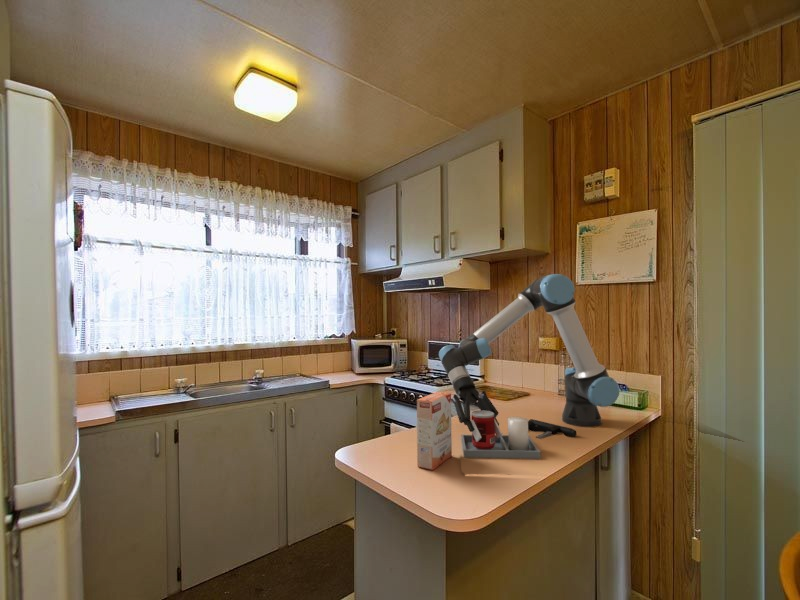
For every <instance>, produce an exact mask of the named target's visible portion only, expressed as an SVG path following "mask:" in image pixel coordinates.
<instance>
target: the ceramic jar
mask: <svg viewBox="0 0 800 600" xmlns="http://www.w3.org/2000/svg"><path fill="white" fill-rule="evenodd" d="M528 421H529V419H527V418H525V417H521V416H520V417H519V416H512V417H508V418H507V435H508V446H509V450H521V451H529V436H530V435H529V430H528Z"/></svg>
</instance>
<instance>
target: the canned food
mask: <svg viewBox="0 0 800 600" xmlns="http://www.w3.org/2000/svg"><path fill="white" fill-rule="evenodd" d="M471 420H473V421H474V423H475V425H476V427H477V429H478V431H479V433H480V435H481V437H482V438H481V439H480V440H479V441H478V442H476V440H475V438H474V435H473V433H472V432H471V435H472V443H473V446H474V447H476V448H479V449H491V448H493V447H494V446H495V435H496V434H495V420H494V413H493V412H491V411H486V410H480V409H478V410H473V411H472V412H471Z"/></svg>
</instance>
